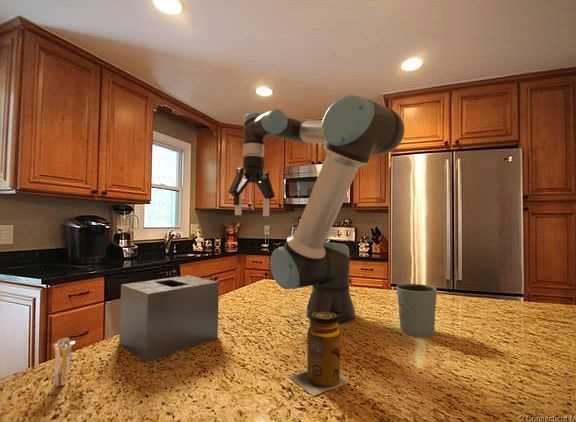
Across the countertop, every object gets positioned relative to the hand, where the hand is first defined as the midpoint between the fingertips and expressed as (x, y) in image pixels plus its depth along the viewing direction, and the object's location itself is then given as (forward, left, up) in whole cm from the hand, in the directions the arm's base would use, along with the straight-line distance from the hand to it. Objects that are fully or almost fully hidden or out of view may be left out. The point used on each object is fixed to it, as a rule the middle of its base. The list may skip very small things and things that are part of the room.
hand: (252, 215), depth 109 cm
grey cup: (-53, -12, -32) cm, 63 cm away
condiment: (-48, +27, -32) cm, 64 cm away
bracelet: (-15, +59, -32) cm, 68 cm away
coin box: (-10, +36, -32) cm, 49 cm away
